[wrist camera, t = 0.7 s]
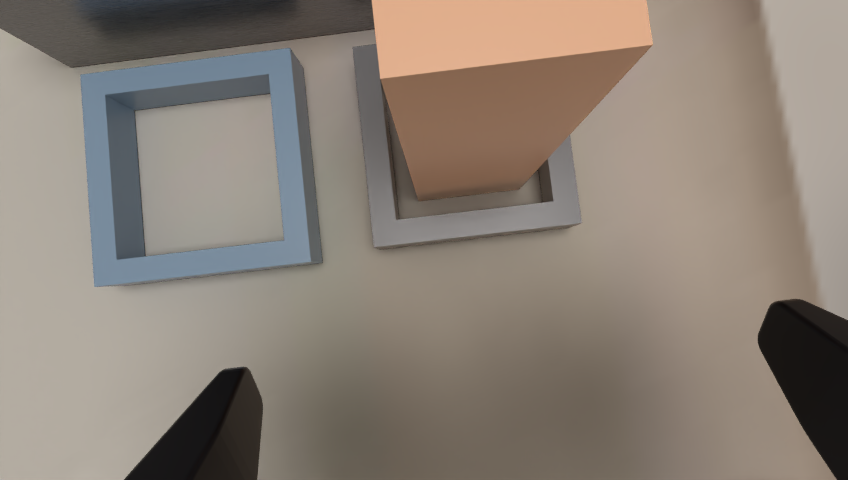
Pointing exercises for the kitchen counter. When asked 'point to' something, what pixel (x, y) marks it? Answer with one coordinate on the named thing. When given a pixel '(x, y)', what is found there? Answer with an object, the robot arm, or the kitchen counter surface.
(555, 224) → the grey square frame
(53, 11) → the panel
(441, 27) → the plug
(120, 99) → the slate-blue socket
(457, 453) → the kitchen counter surface
